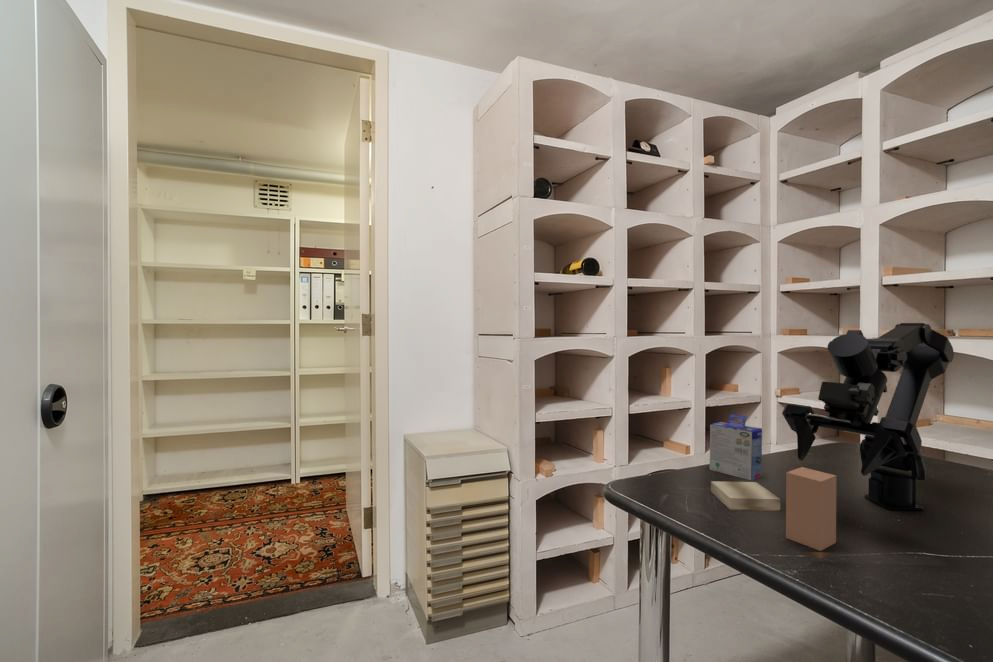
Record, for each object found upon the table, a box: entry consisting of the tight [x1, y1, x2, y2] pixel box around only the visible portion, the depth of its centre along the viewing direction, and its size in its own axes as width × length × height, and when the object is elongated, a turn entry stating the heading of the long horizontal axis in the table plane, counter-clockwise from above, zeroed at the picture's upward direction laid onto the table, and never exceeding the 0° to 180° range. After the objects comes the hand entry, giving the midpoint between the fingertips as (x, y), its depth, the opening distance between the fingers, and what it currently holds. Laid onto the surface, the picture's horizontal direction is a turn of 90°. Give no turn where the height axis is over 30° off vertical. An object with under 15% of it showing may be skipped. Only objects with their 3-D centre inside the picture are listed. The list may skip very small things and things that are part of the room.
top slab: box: [710, 480, 781, 511], centre depth 89 cm, size 9×9×2 cm
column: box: [785, 466, 837, 560], centre depth 73 cm, size 5×5×12 cm
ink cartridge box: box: [709, 413, 763, 481], centre depth 105 cm, size 10×6×14 cm, turn 37°
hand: (829, 466), depth 76 cm, fingers open, 9 cm apart
